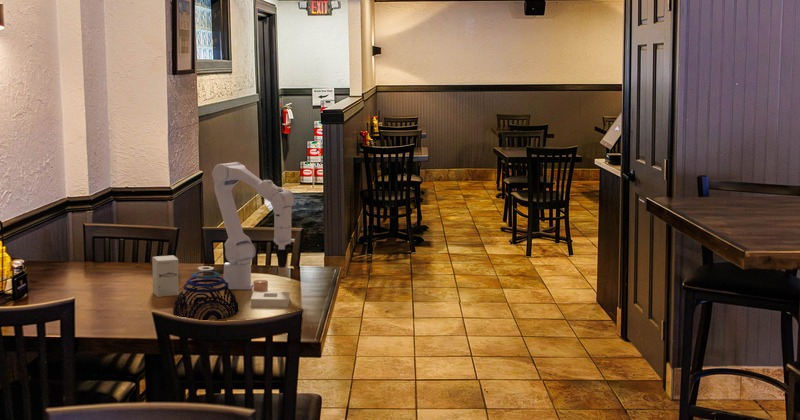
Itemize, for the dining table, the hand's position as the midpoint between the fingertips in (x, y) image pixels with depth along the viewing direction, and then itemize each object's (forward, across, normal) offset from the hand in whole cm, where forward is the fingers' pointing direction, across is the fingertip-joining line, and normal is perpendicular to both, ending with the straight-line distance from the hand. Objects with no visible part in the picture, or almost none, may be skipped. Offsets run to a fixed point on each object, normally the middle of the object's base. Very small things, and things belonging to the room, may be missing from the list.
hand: (282, 265), depth 294 cm
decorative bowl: (+11, -20, +23) cm, 32 cm away
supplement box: (+11, +1, +39) cm, 41 cm away
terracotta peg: (+10, 0, +7) cm, 13 cm away
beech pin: (+3, 0, 0) cm, 3 cm away
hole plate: (+10, -9, +4) cm, 14 cm away
